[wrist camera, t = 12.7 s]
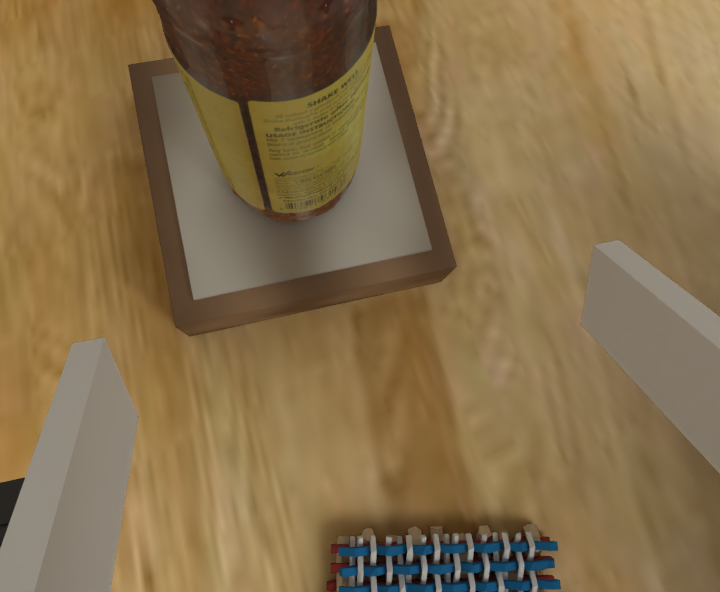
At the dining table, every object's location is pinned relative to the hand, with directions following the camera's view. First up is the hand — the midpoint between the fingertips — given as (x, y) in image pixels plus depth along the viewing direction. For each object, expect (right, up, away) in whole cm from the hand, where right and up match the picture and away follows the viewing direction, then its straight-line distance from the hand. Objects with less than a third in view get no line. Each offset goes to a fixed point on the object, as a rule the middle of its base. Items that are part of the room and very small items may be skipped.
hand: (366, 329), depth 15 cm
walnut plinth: (-4, +6, +14) cm, 16 cm away
